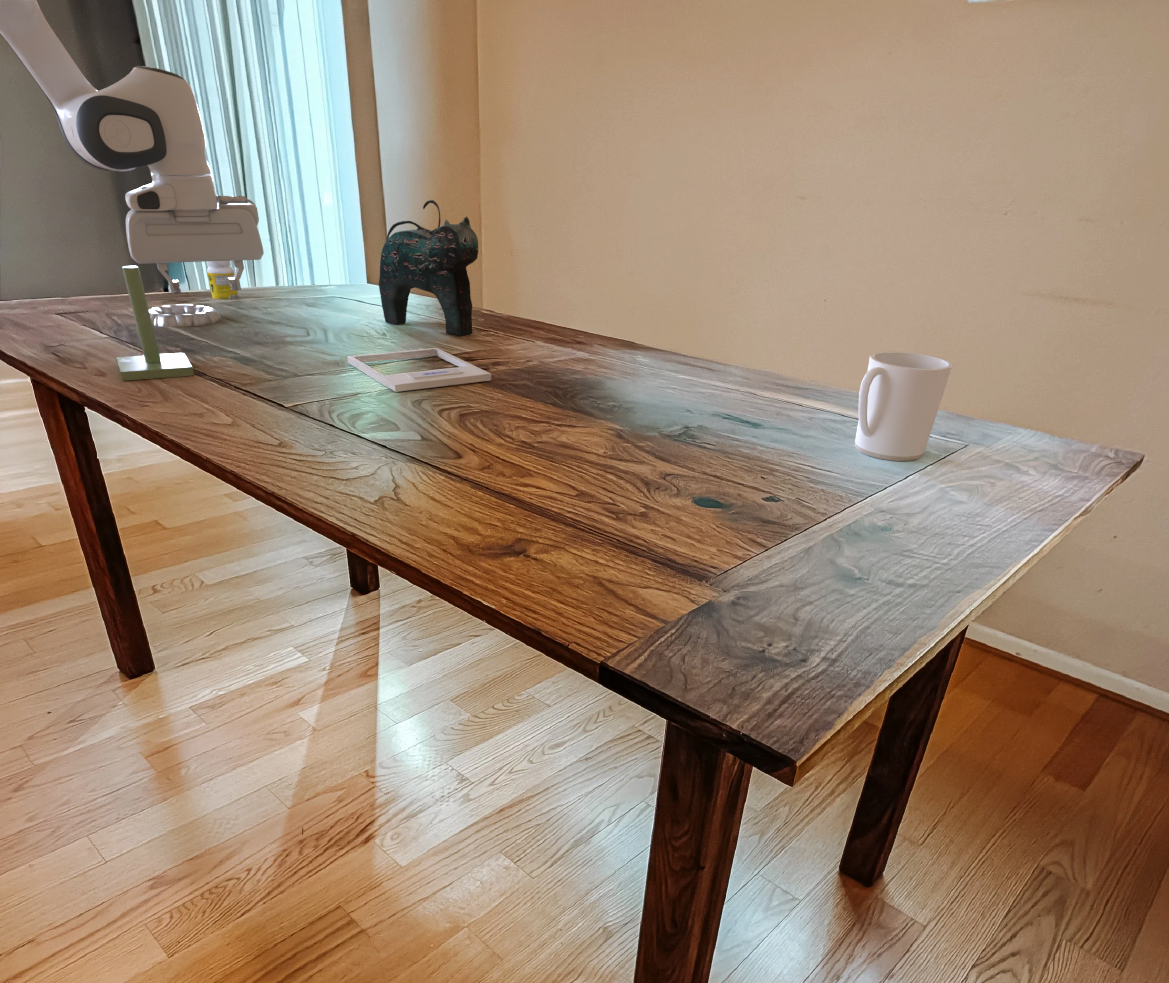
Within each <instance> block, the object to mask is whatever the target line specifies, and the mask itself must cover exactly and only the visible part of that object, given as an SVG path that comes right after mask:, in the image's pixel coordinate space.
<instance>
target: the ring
mask: <svg viewBox="0 0 1169 983" xmlns="http://www.w3.org/2000/svg"><path fill="white" fill-rule="evenodd" d="M149 312H150V316H151V321H152V325H153V327H160V328H161V327H163V328H186V327H187V328H188V327H200V326H206V325H211V324H216V323H217V322H219V321H221V320H222V318H221V315H220V313H219V312H218V311H217V310H216V309H215V308H213V307H210V306H205V305H201V304H200V305H199V304H168V305H161V306H155V307H151V308H149Z"/></svg>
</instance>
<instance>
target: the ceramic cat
mask: <svg viewBox="0 0 1169 983" xmlns="http://www.w3.org/2000/svg"><path fill="white" fill-rule="evenodd" d="M429 204H433V205H434V206H435V207H436V209H437V213H438V224H437V227H436V228H434V229H433V230H431V229H429V228H425V227H423V226H421V225H420V224H418V223H417V222H414V221H412V220H401V221H398V222H396V223H393V224H392V226H390V228H389V230H388V232H387V235H386V240H385V243H384V244H383V246H382V249H381V253H380V260H379V278H378V291H379V295H380V304H381V308H382V312H383V317H384V321H385V323H386V324H390V325H395V326H399V325H404V324H406V323H407V313H408V312H407V310H408V305H409V304H408V303H409V296H410V293H411V290H412V289H417V290H421V291H424V292H428V293H431V294H433V295H434V296H435V297H436V299H437V301H438V304H439V305H440V307H441V310H442V312H443V315H444V320H445V321H444V322H445V334H446V335H455V336H459V337H463V336H467V335H471V334H473V318H472V317H473V316H472V315H473V301H472V298H471V296H472V295H471V282H470V278H469V274H468V270H467V267H468V266H470V265H472V264H473V263H474V262H475V261H476V260H478V256H479V239H478V235H477V233H475V231H474V230H473V229H472V226H471V222H470V219H469V217H468V216H465V217H464V218H463V219H462V220H461V221H460V222H459V223H456V224H454V223H450V222H449V220H448V219H445V221H444V223H443V225H441V212H440V211H441V210H440V207H439V206H440V205H439V204H438V203H437V202H436V201H435V200H433V199H430V200H426V202H425V203H424V204H423V206H422V209H423V210H425V209H426V207H427V206H428V205H429ZM406 224H410V225H413V226H415V227H416V229H406V230H400V231H399V230H398V231H395V232H394V233H392V232H393V231H394V230H395V228H396V227H398V226H401V225H402V226H403V225H406ZM391 233H392V234H391Z"/></svg>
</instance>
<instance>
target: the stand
mask: <svg viewBox="0 0 1169 983" xmlns="http://www.w3.org/2000/svg"><path fill="white" fill-rule="evenodd" d="M121 270H122V274H123V278H124V282H125V285H126V289H127V294H128V297H129V298H128V299H129V302H130V306H131V310H132V314H133V318H134V322H135V325H136V330H137V333H138V339H139V342H140V347H141V349H142V350H141V351H142V353H143V355H130V356H129V355H128V356H116V357H115V360H116V364H117V367H118V371H119V375H120V378H121V381H122V382H128V381H129V382H130V381H141V380H154V379H156V380H157V379H168V378H181V377H192V376H193V377H194V376H195V373H194V368H193V366H192V364H191V362H190V360H189V359H188V357H187V355H186V354H185V352H175V353H160V351H159V350H160V349H159V346H158V341H157V338H156V333H155V329H154V326H153V325H152V321H151V316H150V312H149V309H150V308H149V305H148V301H147V296H146V292H145V288H144V282H143V279H142V275H141V271H140V267H139V266H138V265H123V266H122V267H121Z"/></svg>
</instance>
